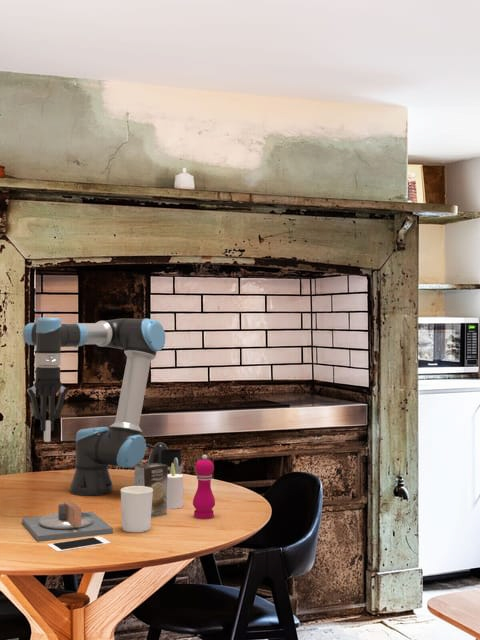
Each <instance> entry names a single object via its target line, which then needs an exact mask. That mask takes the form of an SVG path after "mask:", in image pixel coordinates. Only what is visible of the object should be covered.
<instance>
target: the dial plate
mask: <svg viewBox="0 0 480 640" xmlns="http://www.w3.org/2000/svg"><path fill="white" fill-rule="evenodd" d="M81 513H87V514H90V515H92V516H93V517H94V522H93V524H91V525H89V526H86V527H82V528H77V529H50V528H45V527H42V526H41V525H40V524H39V520H40V518H41V517H42V516H43V515H40V516H30V517H29V516H28V517H22V518H21V524H23V526H24V527H25V528H26V529H27V531H28V532H29V533H30V534H31V535H32V536H33V537H34V538H35V540H36V541H37V542H44V541H45V542H47V541H55V540H65V539H71V538H80V537H81V538H82V537H92V536H99V535H111V534H113V533H114V532H113V531H114V530H113V528H114V527H112V526H111V525H109V524H108V523H107V522H106V521H105V520H103V519H102V518H101V517H100V516H98V515H97V514H96V513H94V511H83V512H82V511H81Z"/></svg>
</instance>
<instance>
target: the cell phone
mask: <svg viewBox="0 0 480 640" xmlns="http://www.w3.org/2000/svg"><path fill="white" fill-rule="evenodd" d="M110 544H112V543H111V541H109V540H108V539H106V538H104V537H102V536H99V535H97V536H93V537H92V536H90V537H85V538H80V539H73V540H66V541H65V540H64V541H60V542H53V543H48V544H47V546H48V547H49V548H50V549H52V550H54V551H55V552H57V553H59V552H66V551H72V550H77V549H85V548H90V547H98V546H102V545H110Z"/></svg>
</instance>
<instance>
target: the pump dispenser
mask: <svg viewBox="0 0 480 640" xmlns="http://www.w3.org/2000/svg"><path fill="white" fill-rule="evenodd" d="M146 448H150V449H151V451H150V454H149V457H148V460H147V464H151V463H161V450H165V449H169V448H168V446H167V444H165V443H164V442H161V441H160V442H157V443H155V444H154V445H152V444H149V443H146Z"/></svg>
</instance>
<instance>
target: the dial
mask: <svg viewBox="0 0 480 640" xmlns="http://www.w3.org/2000/svg"><path fill="white" fill-rule="evenodd" d="M57 509H58V510H57V511H58V512H54V513H48V514H44V515H41V516H42V517H41V518H40V520H39V524H40V525H41V526H42V527H45V528H50V529H77V528H82V527H86V526H89V525H91V524H93V522H94V517H93V516H92V515H90V514H87V513H81V512H82V507H80V506H78V505H76V504H75V503H73V502H71V501H64V502H63V503H60V504H58V507H57Z"/></svg>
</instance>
